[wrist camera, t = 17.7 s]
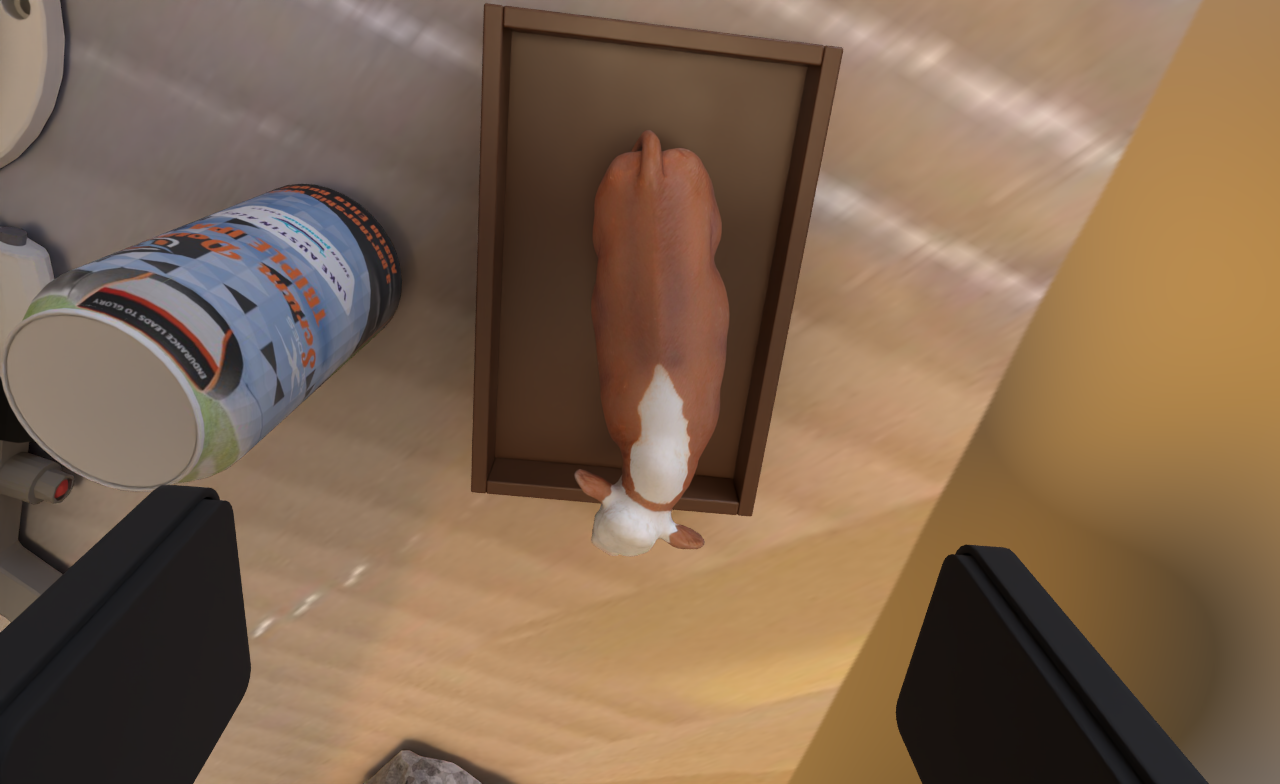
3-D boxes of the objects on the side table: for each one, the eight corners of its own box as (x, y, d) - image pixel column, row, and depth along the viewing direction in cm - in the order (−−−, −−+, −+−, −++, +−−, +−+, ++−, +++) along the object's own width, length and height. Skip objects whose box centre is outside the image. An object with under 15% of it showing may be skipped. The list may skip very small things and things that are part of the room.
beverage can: (445, 268, 28) (329, 389, 17) (321, 387, 30) (142, 567, 19) (314, 137, 26) (88, 180, 15) (189, 273, 28) (-93, 399, 17)
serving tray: (482, 462, 32) (470, 492, 29) (496, 9, 25) (483, 2, 23) (743, 485, 32) (752, 517, 30) (824, 50, 26) (844, 47, 23)
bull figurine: (594, 479, 30) (564, 591, 23) (613, 130, 26) (583, 123, 18) (701, 488, 30) (707, 604, 23) (737, 139, 26) (760, 135, 18)
